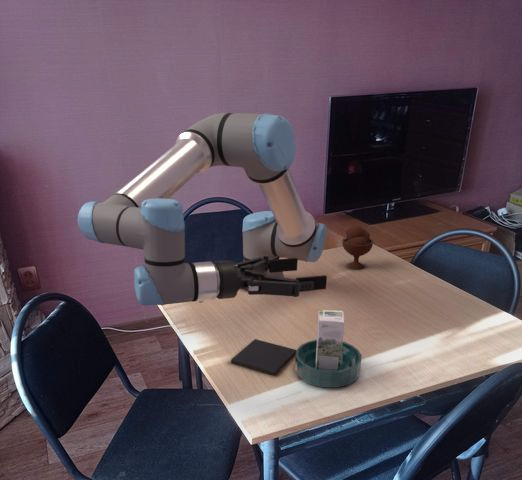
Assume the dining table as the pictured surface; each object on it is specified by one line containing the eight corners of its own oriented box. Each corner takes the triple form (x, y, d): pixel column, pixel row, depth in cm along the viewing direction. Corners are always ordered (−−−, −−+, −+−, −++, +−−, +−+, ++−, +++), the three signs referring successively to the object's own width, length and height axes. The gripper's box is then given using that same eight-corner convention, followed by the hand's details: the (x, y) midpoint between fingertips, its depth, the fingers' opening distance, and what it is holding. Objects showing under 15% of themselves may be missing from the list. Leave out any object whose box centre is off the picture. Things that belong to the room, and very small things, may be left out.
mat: (231, 363, 123) (230, 359, 123) (255, 342, 132) (255, 338, 132) (274, 375, 118) (274, 372, 118) (296, 353, 127) (296, 349, 127)
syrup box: (339, 363, 122) (343, 309, 115) (340, 376, 117) (344, 320, 110) (315, 362, 123) (318, 308, 115) (315, 375, 117) (318, 319, 110)
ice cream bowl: (364, 274, 174) (368, 231, 167) (335, 268, 179) (338, 226, 172) (375, 264, 182) (380, 223, 175) (347, 259, 187) (350, 219, 180)
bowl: (284, 377, 117) (284, 361, 115) (311, 349, 129) (311, 333, 127) (346, 395, 111) (347, 378, 109) (368, 364, 123) (370, 348, 120)
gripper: (198, 280, 112) (285, 273, 119) (235, 320, 91) (337, 309, 99) (197, 246, 109) (287, 241, 116) (235, 280, 88) (341, 272, 95)
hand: (310, 272), depth 107 cm, fingers open, 13 cm apart
